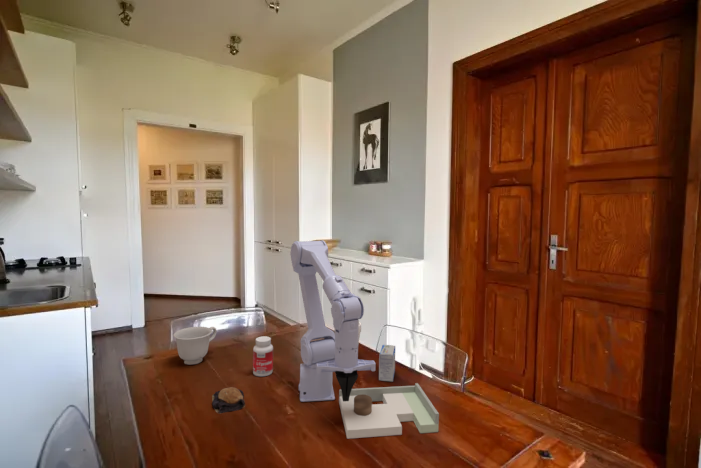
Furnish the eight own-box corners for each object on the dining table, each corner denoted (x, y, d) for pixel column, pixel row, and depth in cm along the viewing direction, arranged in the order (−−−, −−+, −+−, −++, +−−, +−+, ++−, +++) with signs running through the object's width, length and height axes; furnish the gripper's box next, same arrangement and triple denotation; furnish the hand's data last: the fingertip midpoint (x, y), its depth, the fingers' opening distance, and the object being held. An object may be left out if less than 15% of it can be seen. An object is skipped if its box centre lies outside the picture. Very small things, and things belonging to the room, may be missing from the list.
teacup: (226, 356, 125) (226, 328, 124) (187, 372, 112) (187, 341, 112) (205, 348, 131) (205, 322, 131) (166, 362, 119) (165, 333, 118)
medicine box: (392, 382, 109) (393, 354, 108) (378, 380, 110) (379, 353, 109) (394, 371, 117) (395, 345, 116) (381, 369, 118) (382, 344, 117)
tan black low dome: (210, 397, 99) (210, 384, 99) (241, 391, 103) (241, 378, 103) (213, 417, 90) (213, 403, 89) (248, 410, 93) (248, 396, 93)
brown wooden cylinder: (355, 416, 87) (355, 404, 87) (352, 406, 92) (352, 395, 91) (373, 415, 88) (373, 403, 88) (369, 405, 92) (369, 394, 92)
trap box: (347, 438, 82) (347, 419, 81) (338, 401, 97) (339, 385, 97) (438, 431, 85) (439, 413, 85) (416, 397, 100) (417, 382, 100)
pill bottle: (254, 378, 109) (254, 343, 109) (251, 370, 115) (251, 336, 114) (274, 375, 112) (275, 340, 111) (271, 367, 117) (271, 334, 117)
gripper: (318, 353, 83) (317, 409, 84) (378, 351, 85) (377, 406, 86) (316, 342, 90) (315, 394, 91) (372, 340, 92) (371, 391, 93)
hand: (345, 399), depth 89 cm, fingers closed
